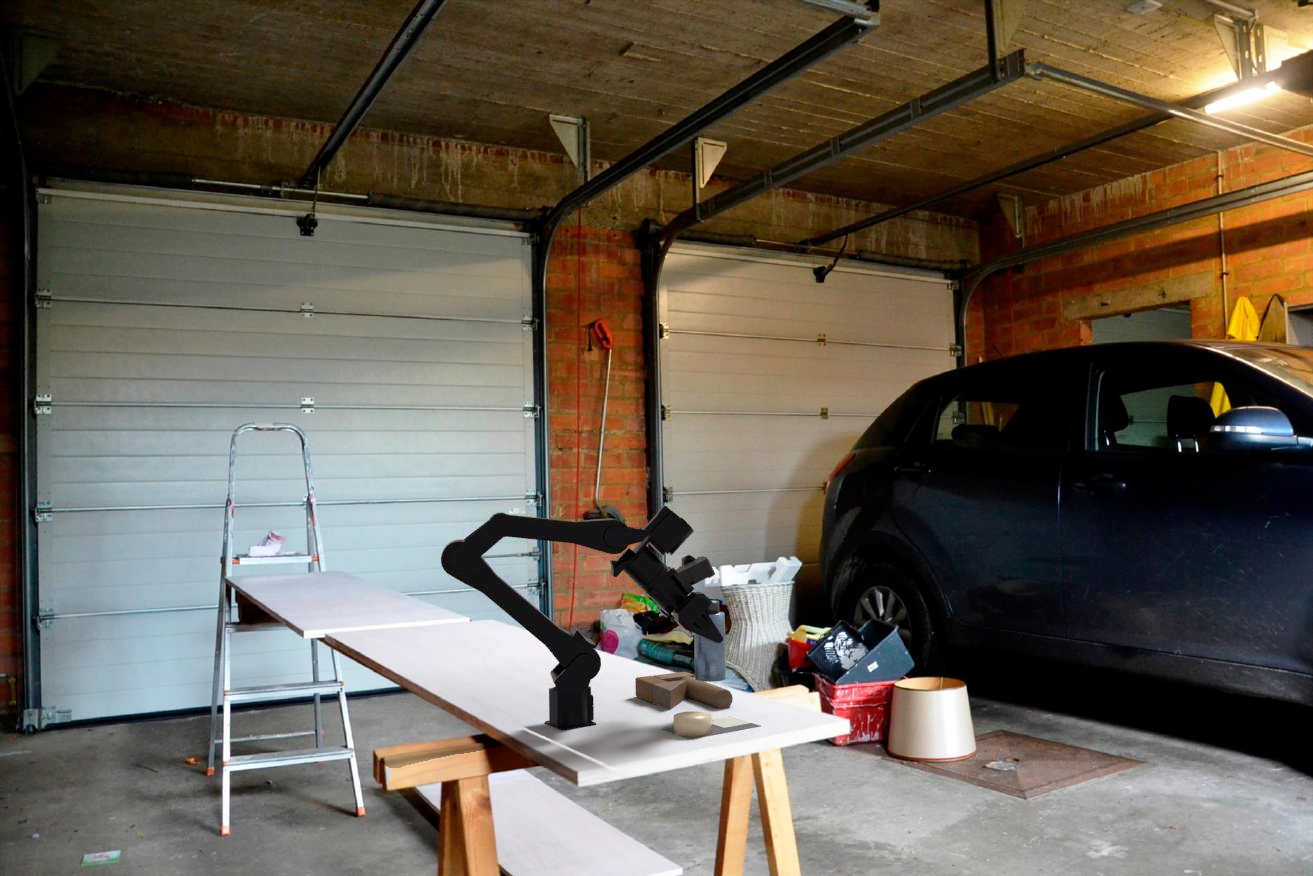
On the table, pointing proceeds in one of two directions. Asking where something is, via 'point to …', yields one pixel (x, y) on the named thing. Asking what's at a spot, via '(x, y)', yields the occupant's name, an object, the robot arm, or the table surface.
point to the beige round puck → (692, 724)
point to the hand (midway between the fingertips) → (717, 638)
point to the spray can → (711, 650)
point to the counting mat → (722, 726)
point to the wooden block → (680, 690)
